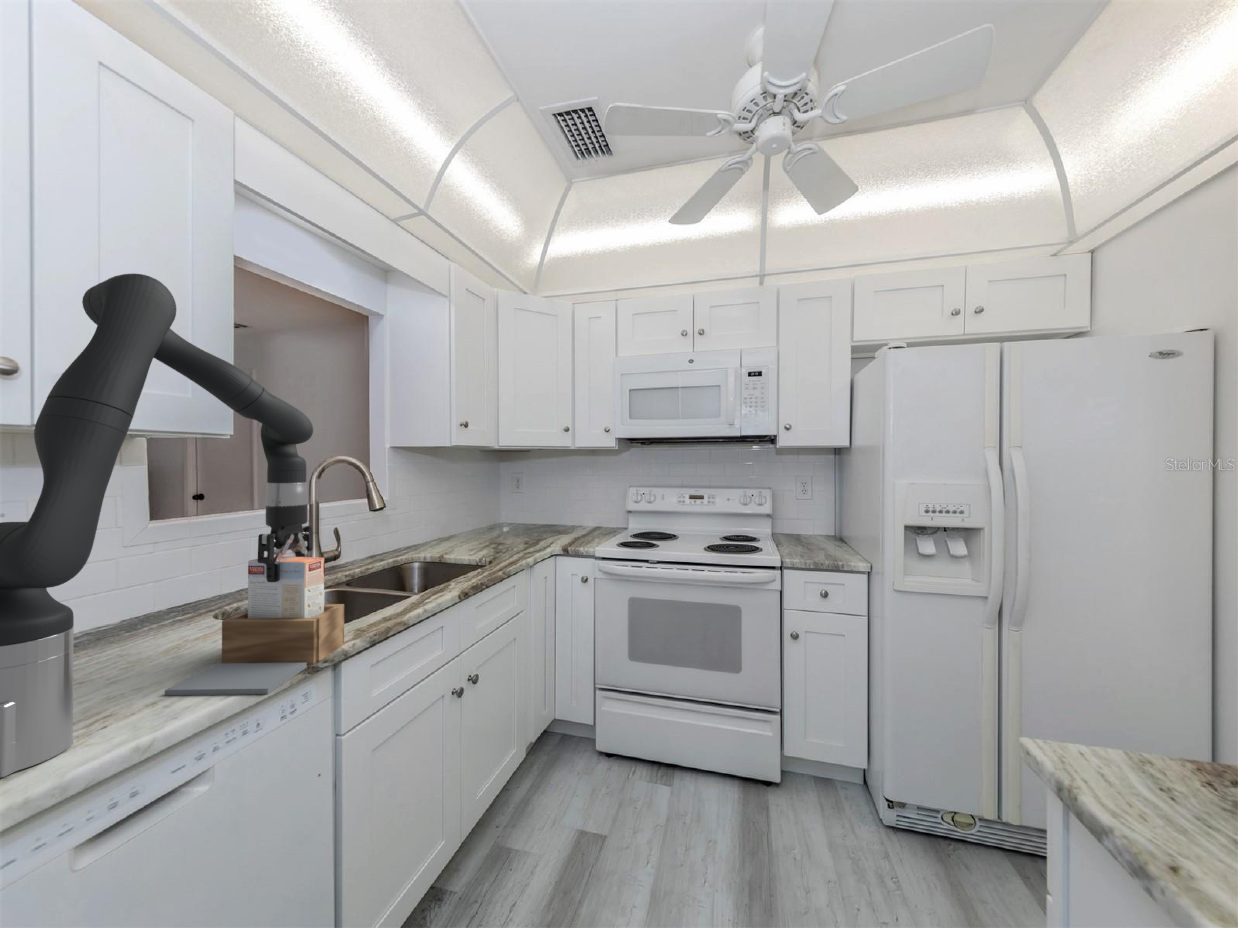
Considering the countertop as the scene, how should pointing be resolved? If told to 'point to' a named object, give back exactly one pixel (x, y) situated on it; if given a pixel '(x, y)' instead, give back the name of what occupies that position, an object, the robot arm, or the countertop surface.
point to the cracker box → (287, 589)
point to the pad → (237, 679)
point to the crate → (282, 637)
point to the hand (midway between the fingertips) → (286, 576)
